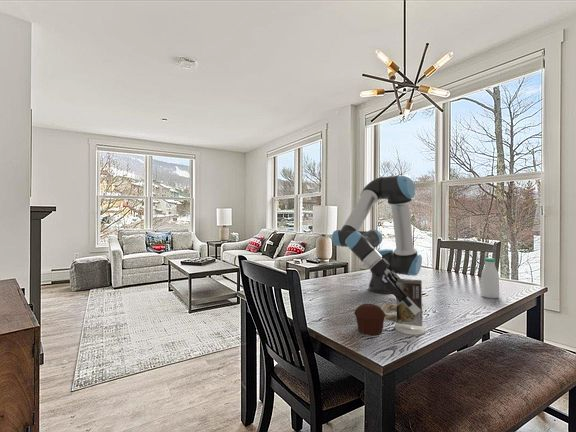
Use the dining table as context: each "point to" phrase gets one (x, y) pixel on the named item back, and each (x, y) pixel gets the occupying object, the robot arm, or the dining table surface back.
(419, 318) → the coffee box
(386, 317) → the holder board
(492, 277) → the milk bottle
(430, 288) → the dining table surface
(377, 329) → the muffin
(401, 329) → the coaster
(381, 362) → the dining table surface
